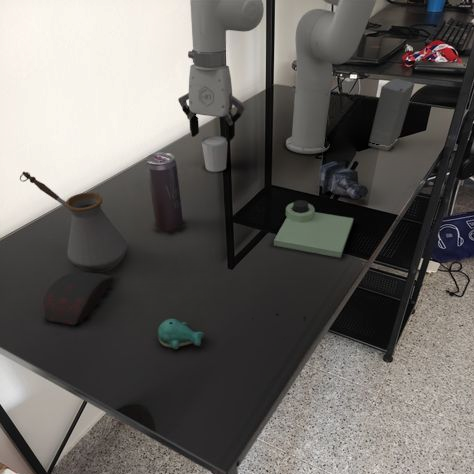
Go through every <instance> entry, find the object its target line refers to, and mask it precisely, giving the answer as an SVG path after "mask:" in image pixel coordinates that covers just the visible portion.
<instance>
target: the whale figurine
mask: <svg viewBox="0 0 474 474" xmlns="http://www.w3.org/2000/svg"><path fill="white" fill-rule="evenodd" d="M157 329H158V330H157V337H158V338H157V339H158V341H159V342H160V344H161V345H162V346H164V347H166V348H172V349H174V350H177V349H179V347H183V346H187V345H191V344H193V345H195V346H197V347H199V346H201V344H202V339H203V338H204V337H205V333H204V332H203V331H193V329H191V328H190V327H189V324H188V322H186V321H184V322H181V321H180V320H178V319H176V318H168V319H165V320H164V321H163V322H162V323H160V325H159V326H158V328H157Z"/></svg>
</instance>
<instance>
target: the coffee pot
mask: <svg viewBox="0 0 474 474" xmlns="http://www.w3.org/2000/svg"><path fill="white" fill-rule="evenodd" d="M23 176H24V177H25V178H26V179H24V180H22V177H23ZM19 180H20V182H23V183H24V182H26V181H28V180H29V182H30V183H31V184H34V185H35V186H36V188H38V189H39V190H40V191H42V192H43V193H44V194H46V195H48V196H49V197H50V198H52V199H53V200H55V201H56V202H58V203H60V204H61V205H62V206H63V207H64V208H66V209H67V210H69V211H70V212H71V214H72V215H71V221H70V222H71V223H70V230H69V237H68V245H67V252H66V254H67V257H68V259H69V261H71V263H72V264H74V266H75V267H78V268H80V269H83V270H85V271H87V272H90V273H102V272H106V271H109V270H112V269H113V268H115V267H117V266H118V265H119V263H120V262H121V261H122V260H123V259H124V257H125V256H126V253H127V251H128V250H127V249H128V243H127V241H126V239H125V238H124V236H123V235H122V234H121V232H120V231H119V230H118V229H117V227H116V226H115V225H114V224H113V222H112V221H111V220H110V219H109V217H108V216H107V214H106V213H105V212H104V211H103V210H102V208H101V207H102V206H101V204H102V203H103V197H102V196H101V195H100V194H99V192H81V193H78V194H74V195H72V196H70V197H68V198H67V200H64V199H62V198H61V197H60V196H59V195H58V194H57V193H55V192H54V191H53V190H52V189H51V188H49V186H47V185H46V184H45V183H43V182H41V181H40V180H37V178H36V177H35V176H32V175H31V173H29V172H27V171H22V173H21V175H20V176H19Z"/></svg>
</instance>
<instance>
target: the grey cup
mask: <svg viewBox="0 0 474 474" xmlns="http://www.w3.org/2000/svg"><path fill="white" fill-rule="evenodd" d="M228 143H229V142H227V141H226V137H224V136H220V135H211V136H206V137H204V138H202V139H201V146H202V154H203V159H204V166H205V169H206V170H207V171H208V172H213V173H218V172H222V171H224V170H226V169H227V163H228V162H227V158H228Z"/></svg>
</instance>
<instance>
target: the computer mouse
mask: <svg viewBox="0 0 474 474" xmlns="http://www.w3.org/2000/svg"><path fill="white" fill-rule="evenodd" d="M113 282H114V277H113V276H111V275H106V274H103V273H99V272H89V271H87V272H85V271H78V272H70V273H67V274H64V275H63V276H61V277H58V279H56V281H54V282H53V283H52V284H51V286H49V288H48V290H47V291H46V292H45V295H44V298H43V311H44V315H45V318H46V320H48V321H49V322H52V323H58V324H64V325H69V326H76V325H78V324H80V322H82V321H83V320H84V319H86V317H88V315H90V313H91V312H92V310H93V309H94V308H95V306H96V305H97V303H98V302H99V301H100V299H101V298H102V297H103V296H104V295H105V292H107V290H108V289H109V288H110V286H111V285H112V283H113Z"/></svg>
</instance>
